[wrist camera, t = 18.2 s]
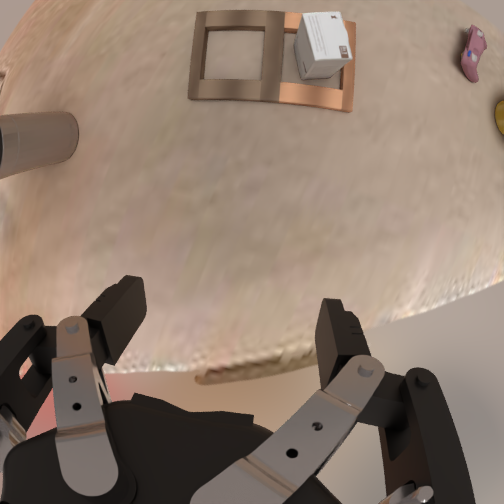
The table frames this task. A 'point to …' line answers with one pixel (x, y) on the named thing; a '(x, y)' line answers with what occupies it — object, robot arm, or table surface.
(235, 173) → the table surface
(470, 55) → the video game controller
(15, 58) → the table surface
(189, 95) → the brown flat frame
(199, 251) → the table surface
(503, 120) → the plant pot
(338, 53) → the skincare box
